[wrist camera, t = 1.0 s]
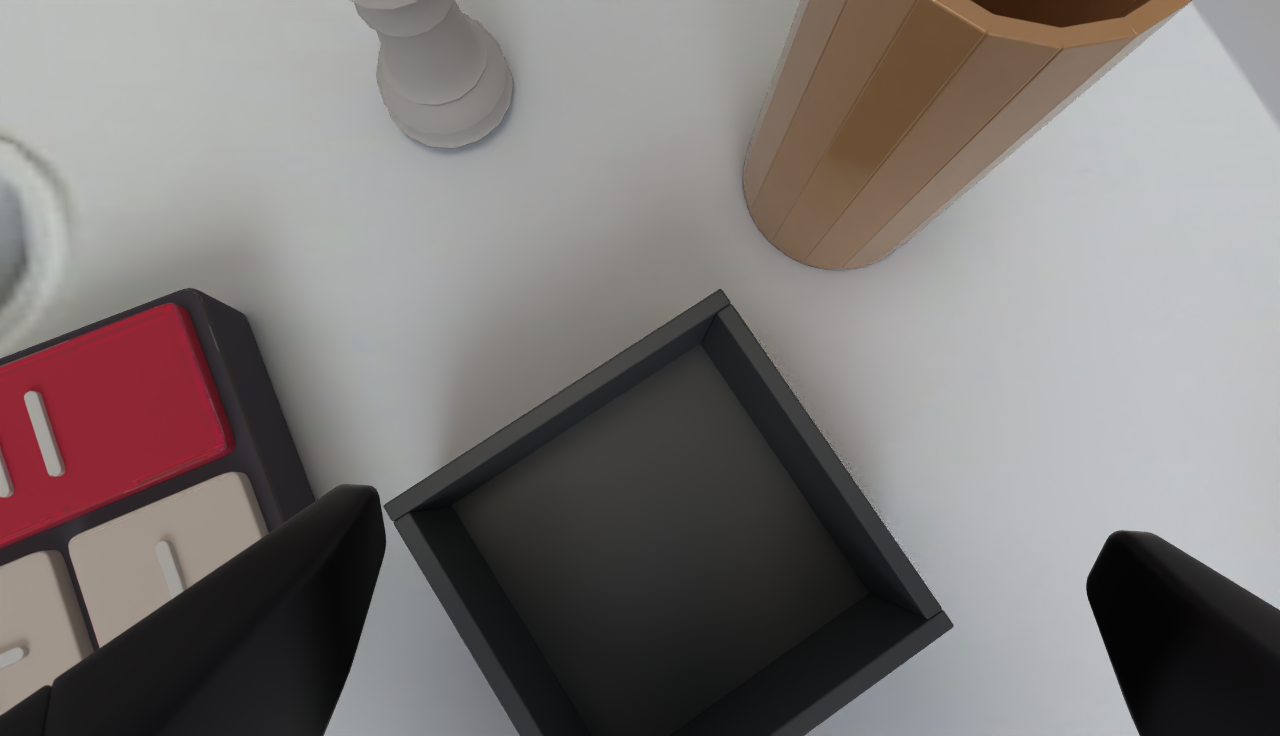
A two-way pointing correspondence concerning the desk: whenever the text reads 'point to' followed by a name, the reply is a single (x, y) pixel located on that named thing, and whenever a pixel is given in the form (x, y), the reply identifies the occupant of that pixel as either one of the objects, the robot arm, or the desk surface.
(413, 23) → the rook chess piece
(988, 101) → the wooden cup
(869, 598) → the bin
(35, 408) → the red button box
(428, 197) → the desk surface
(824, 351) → the desk surface
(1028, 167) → the desk surface
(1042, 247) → the desk surface
